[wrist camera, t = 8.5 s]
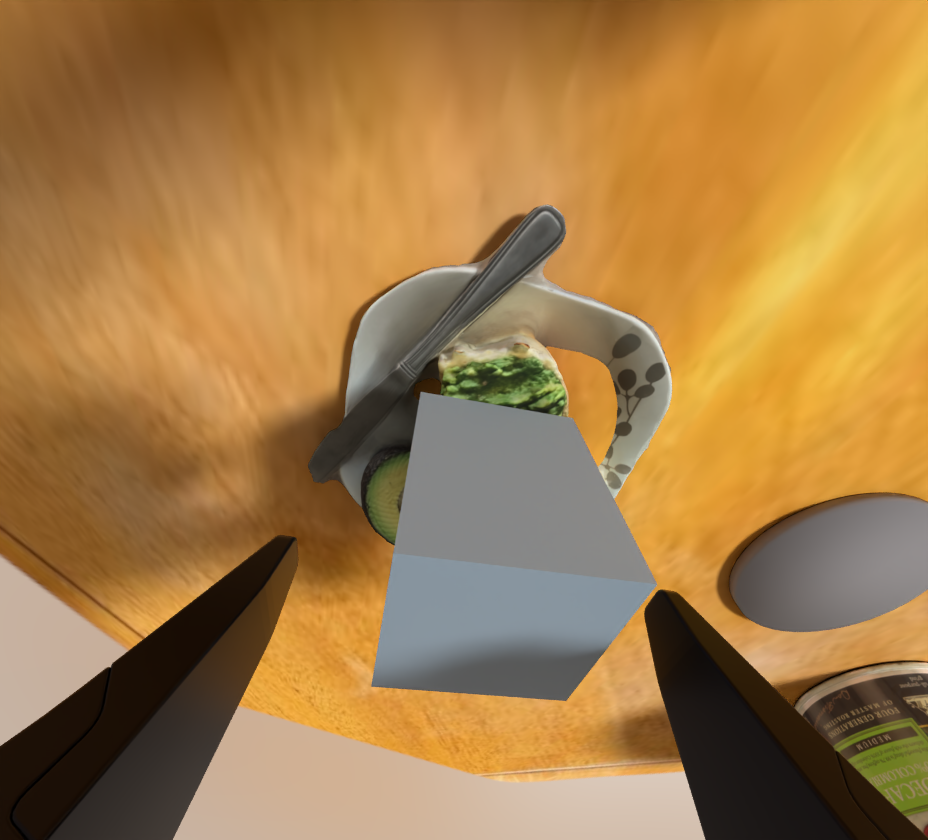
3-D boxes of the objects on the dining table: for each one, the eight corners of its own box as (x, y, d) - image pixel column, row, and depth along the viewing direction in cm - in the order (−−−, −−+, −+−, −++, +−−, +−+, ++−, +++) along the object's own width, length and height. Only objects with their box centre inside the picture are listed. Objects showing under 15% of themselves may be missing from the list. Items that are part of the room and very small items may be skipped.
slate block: (572, 418, 12) (657, 584, 7) (527, 523, 15) (565, 700, 10) (421, 391, 12) (392, 553, 6) (401, 506, 14) (371, 686, 9)
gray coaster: (1000, 510, 17) (1016, 520, 17) (851, 631, 22) (860, 641, 22) (804, 477, 17) (815, 486, 16) (695, 609, 22) (700, 619, 21)
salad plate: (359, 138, 11) (317, 114, 8) (742, 277, 13) (823, 299, 10) (313, 490, 19) (282, 546, 15) (564, 550, 20) (580, 611, 17)
